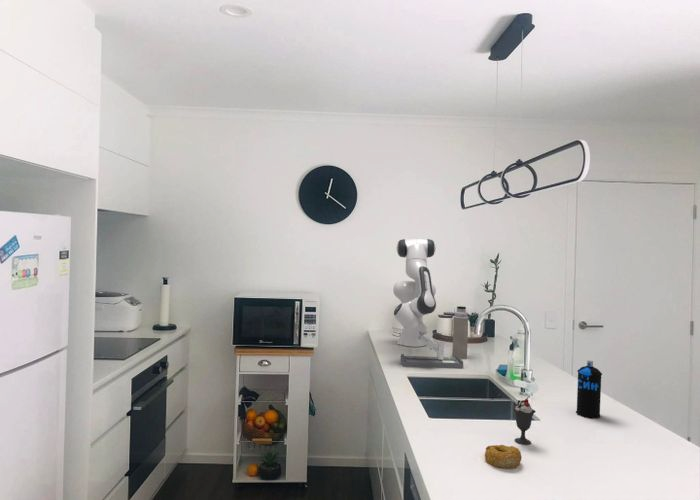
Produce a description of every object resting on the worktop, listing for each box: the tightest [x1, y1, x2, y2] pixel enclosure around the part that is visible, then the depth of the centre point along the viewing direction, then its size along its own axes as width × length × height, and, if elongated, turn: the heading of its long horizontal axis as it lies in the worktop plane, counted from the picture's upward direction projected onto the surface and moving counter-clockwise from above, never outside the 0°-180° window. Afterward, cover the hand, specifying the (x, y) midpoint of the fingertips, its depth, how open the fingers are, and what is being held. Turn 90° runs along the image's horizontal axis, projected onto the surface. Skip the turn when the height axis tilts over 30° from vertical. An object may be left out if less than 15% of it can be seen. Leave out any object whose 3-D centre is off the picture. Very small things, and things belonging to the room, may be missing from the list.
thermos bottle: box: [451, 305, 469, 360], centre depth 265 cm, size 8×8×28 cm
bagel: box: [484, 444, 522, 470], centre depth 136 cm, size 10×11×5 cm
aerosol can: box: [575, 359, 603, 419], centre depth 177 cm, size 8×8×20 cm
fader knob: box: [436, 340, 445, 360], centre depth 247 cm, size 3×2×9 cm
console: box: [400, 353, 464, 369], centre depth 247 cm, size 13×30×4 cm, turn 90°
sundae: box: [512, 395, 536, 446], centre depth 150 cm, size 7×7×15 cm
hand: (436, 350), depth 247 cm, fingers closed, pressing on fader knob
